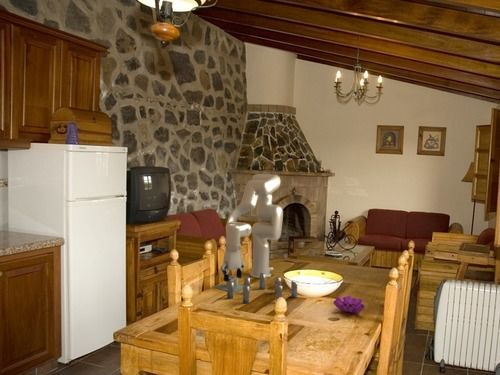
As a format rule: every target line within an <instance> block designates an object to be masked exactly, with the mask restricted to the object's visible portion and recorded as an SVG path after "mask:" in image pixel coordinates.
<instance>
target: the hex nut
mask: <svg viewBox="0 0 500 375" xmlns="http://www.w3.org/2000/svg"><path fill="white" fill-rule="evenodd" d="M229 281H233V282H234V287H233V288H237V287H238V284H239V278H238V277H237V276H235V275H234V276H233V275H232V276H230V275H229ZM225 282H226V281H225ZM225 284H226V287H227V282H226V283H225Z"/></svg>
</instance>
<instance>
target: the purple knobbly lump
mask: <svg viewBox="0 0 500 375" xmlns="http://www.w3.org/2000/svg"><path fill="white" fill-rule="evenodd" d="M333 306H335V308H338V309H339V310H340V311H343V312H346V313H352V314H354V313H360V312H362V311H363V310H364V309H365V308H366V307H365V305H364V304H363V299H362V298H360V297H359V298H356V297H352V295H347V296H343V298H341V296H338V297H335V300H333Z"/></svg>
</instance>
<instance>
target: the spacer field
mask: <svg viewBox="0 0 500 375" xmlns="http://www.w3.org/2000/svg"><path fill="white" fill-rule="evenodd" d="M281 279H282V277H280V276H275V277H274V293H275V300H276V299H277V298H279V297H282V298H283V285H282V283H281V282H282V280H281ZM293 281H294V280H291V282H290V284H291V285H290V286H291V287H290V298H291V299H297V298H298V283H297V284H296V282H293ZM258 283H259V286H258V289H259V290H260V291H261V290H262V291H263V290H266V278H265V274H264V273H260V278H259V282H258ZM243 285H244V286H243V290H242V304H245V305H246V304H247V305H248V304H250V292H251V290H250V289H251V288H250V287H251V277H249V276H245V277H244V279H243ZM233 287H234V282H233V281H228V282H227V291H226V292H227V294H226V298H227V299H230V300H233V299H234V293H233Z"/></svg>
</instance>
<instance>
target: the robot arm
mask: <svg viewBox="0 0 500 375" xmlns="http://www.w3.org/2000/svg"><path fill="white" fill-rule="evenodd" d="M280 186H281V178H280V176H279V175H278V174H275V173H274V174H272V173H271V174H270V173H269V174H267V173H256V174H254V175H252V178H251V180H249V181H248V182H247V183H246V185H245V189H244V192H243V195H242V198H241V202H239V203H240V204H238V205H237V206H235V208H234V209H233V210H232V211H231V212H230V213H229V215H228V218H227V221H226V225H225V250H224V254H223V260H222V262H223V263H222V265H220V270H221V272H222V274H223V281H224V282H228V281H229V276H230V274H229V273H230V271H234V270H236V269H237V270H236V277H238V279H242V278H243V276H242V272H243V269H244V267H245V264H246V262H245V261H244V260H242V259H243V258H242V250H241V238H246V237H249V236H250V235H251V234H252V271H251V272H250V273H249V275H250V276H251V277H253V278H256V279H257V278H258V279H260V273H264V274H265V279H266V278H271V276H272V273H271V272H272V271H274V267H272V266H269V265H270V244H269V242H268V241H269V240H271V241H272V240H273V241H277V240H279V239H280V238H281V235H282V227H283V218H284V210H283V208H282V206H281V205H279V204H273V195H272V194H273V193H274V192H275V191H276V190H278V189H279V188H280ZM255 209H256V214H255V215H256V218H257V219H258V220H261V222H259V221H258V222H255V223H254V224H253V225H252V226H251V224H250V223H247V222H239V221H237V220H238V219H239V217H241V216H242V215H245V214H246V213H250V212H252V211H254V210H255ZM262 221H264V222H262ZM265 221H271V222H265Z"/></svg>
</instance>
